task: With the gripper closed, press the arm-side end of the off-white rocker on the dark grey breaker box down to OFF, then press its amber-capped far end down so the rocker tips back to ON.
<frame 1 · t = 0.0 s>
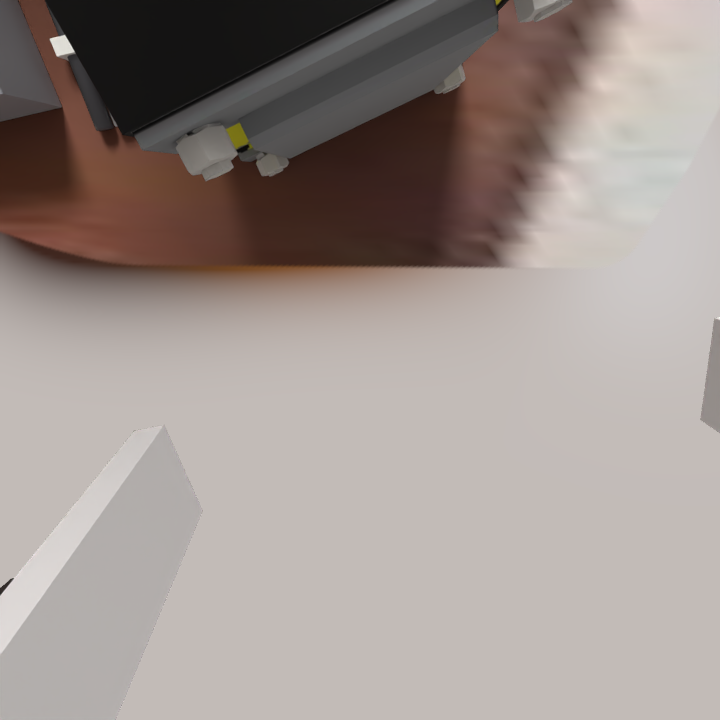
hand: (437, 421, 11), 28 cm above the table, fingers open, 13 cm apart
electrical component: (333, 62, 31), on the table
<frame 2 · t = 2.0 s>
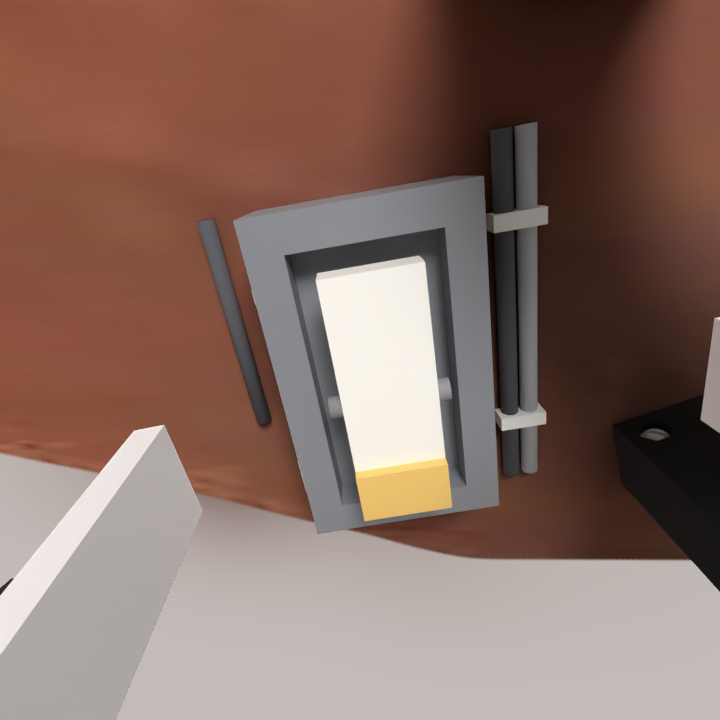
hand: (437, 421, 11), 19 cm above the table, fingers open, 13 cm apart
breaker housing: (378, 346, 30), on the table
dark grey thin bar: (239, 327, 29), on the table
dressed cords: (515, 323, 30), on the table
rocker: (390, 400, 23), point 8 cm above the table, hinge at 0.0°
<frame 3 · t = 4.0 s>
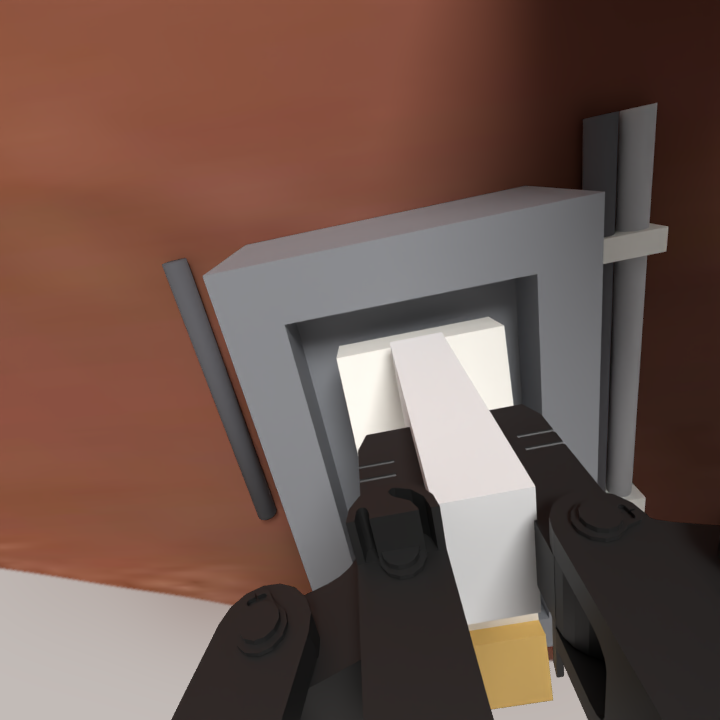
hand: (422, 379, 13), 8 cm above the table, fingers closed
breaker housing: (417, 416, 22), on the table
dark grey thin bar: (229, 398, 21), on the table
dressed cords: (604, 381, 22), on the table
rocker: (450, 532, 15), point 8 cm above the table, hinge at -8.6°, touching gripper
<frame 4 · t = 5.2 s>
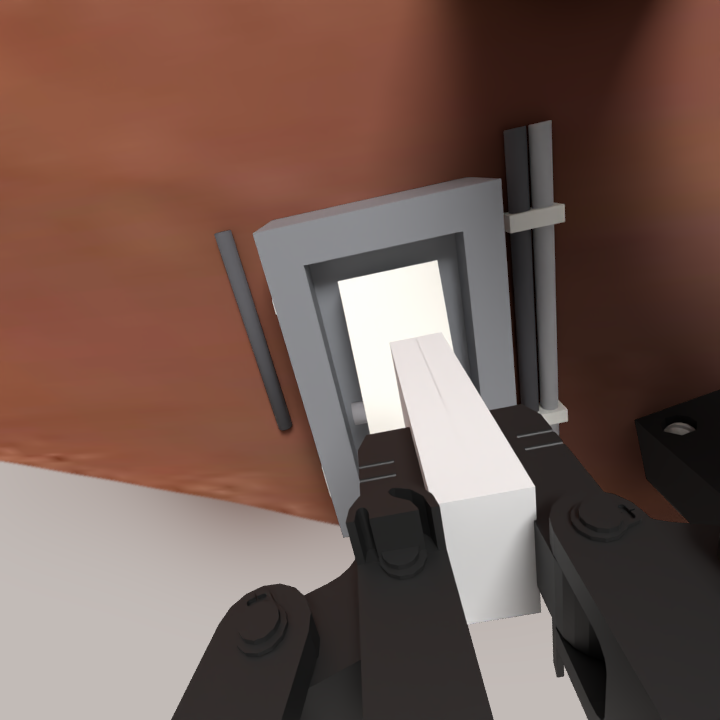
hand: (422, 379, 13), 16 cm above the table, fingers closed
breaker housing: (396, 349, 30), on the table
dark grey thin bar: (258, 335, 29), on the table
dressed cords: (533, 321, 29), on the table
rocker: (412, 403, 23), point 8 cm above the table, hinge at -15.5°
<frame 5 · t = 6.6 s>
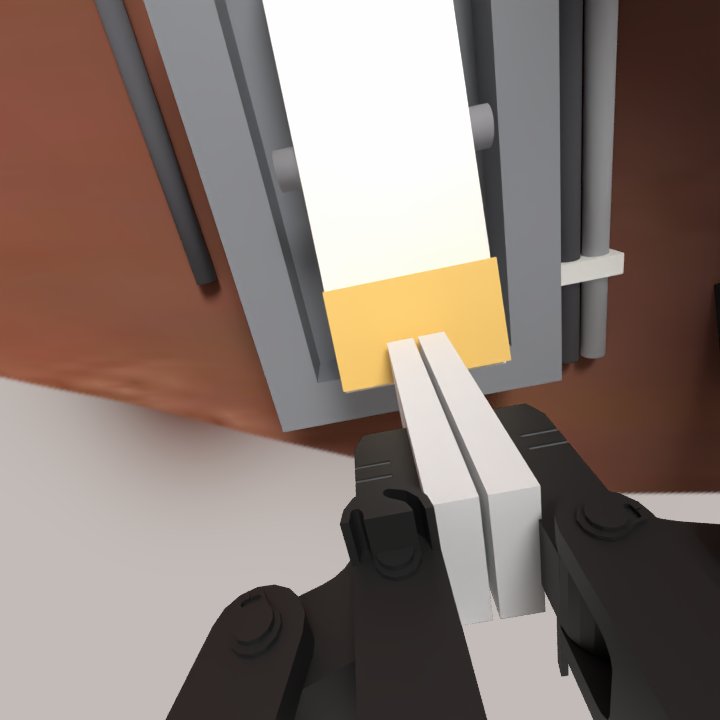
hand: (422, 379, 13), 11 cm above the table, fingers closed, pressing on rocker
breaker housing: (369, 155, 20), on the table
dark grey thin bar: (156, 125, 19), on the table
dressed cords: (577, 109, 19), on the table
rocker: (381, 146, 13), point 8 cm above the table, hinge at -14.4°, touching gripper
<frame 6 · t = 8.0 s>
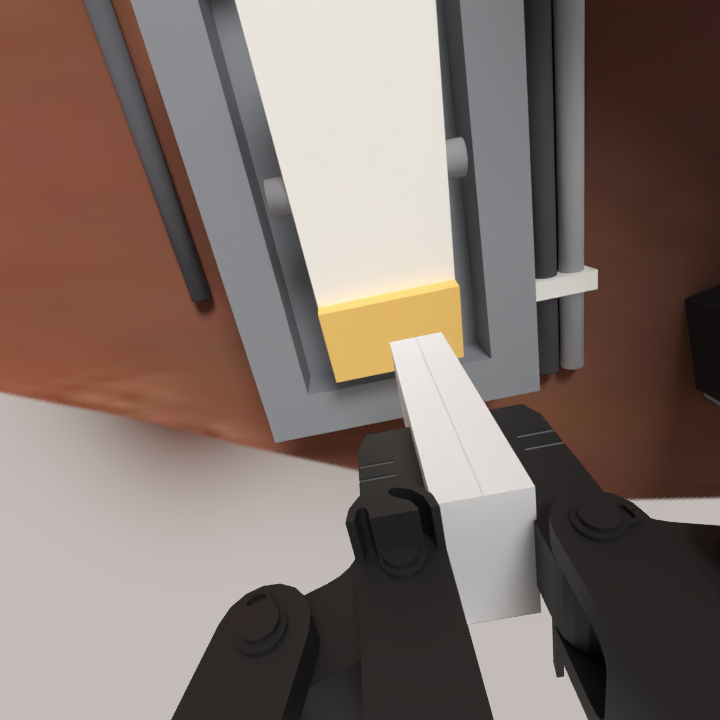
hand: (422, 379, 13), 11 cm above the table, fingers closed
breaker housing: (356, 179, 21), on the table
dark grey thin bar: (154, 152, 20), on the table
dressed cords: (551, 136, 21), on the table
rocker: (366, 180, 14), point 8 cm above the table, hinge at 11.0°
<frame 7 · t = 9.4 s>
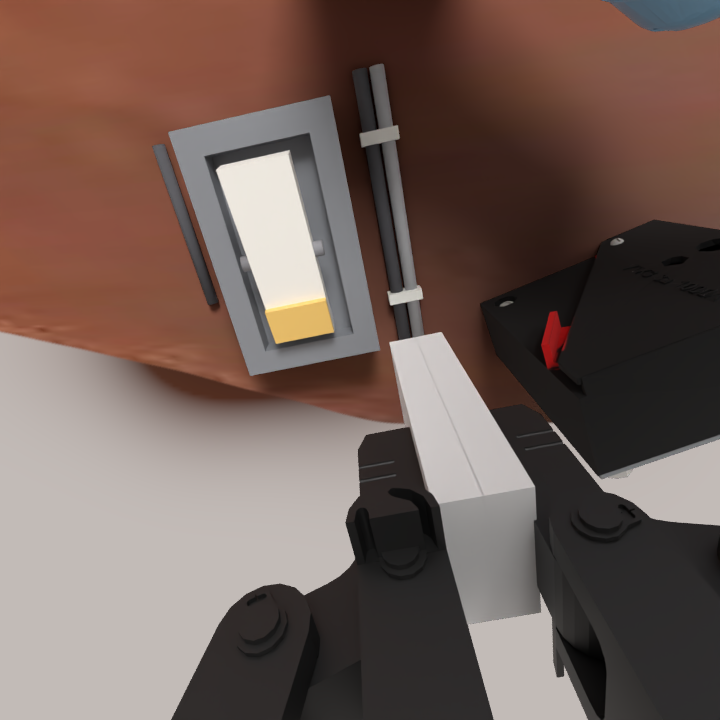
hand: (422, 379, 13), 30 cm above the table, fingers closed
breaker housing: (293, 241, 40), on the table
dark grey thin bar: (189, 229, 40), on the table
electrical component: (571, 297, 44), on the table
dressed cords: (393, 220, 40), on the table
rocker: (282, 257, 33), point 8 cm above the table, hinge at 11.1°
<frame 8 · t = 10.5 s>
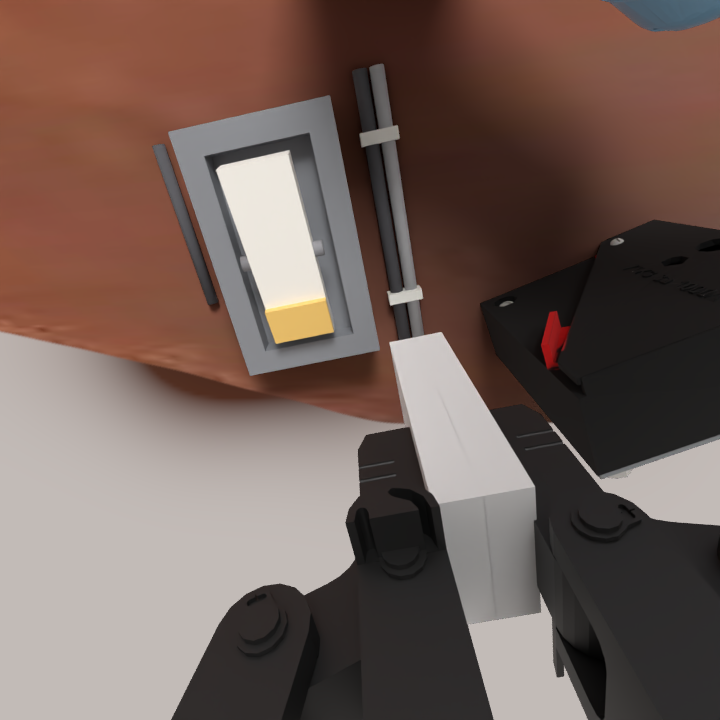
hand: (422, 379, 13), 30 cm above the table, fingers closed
breaker housing: (293, 241, 40), on the table
dark grey thin bar: (189, 228, 40), on the table
electrical component: (571, 297, 44), on the table
dressed cords: (393, 220, 40), on the table
rocker: (282, 257, 33), point 8 cm above the table, hinge at 11.1°
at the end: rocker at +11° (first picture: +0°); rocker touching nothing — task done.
